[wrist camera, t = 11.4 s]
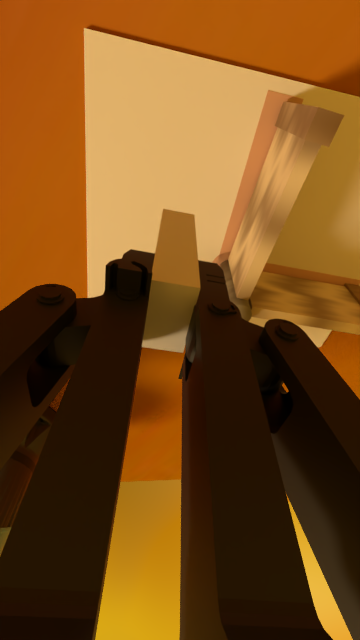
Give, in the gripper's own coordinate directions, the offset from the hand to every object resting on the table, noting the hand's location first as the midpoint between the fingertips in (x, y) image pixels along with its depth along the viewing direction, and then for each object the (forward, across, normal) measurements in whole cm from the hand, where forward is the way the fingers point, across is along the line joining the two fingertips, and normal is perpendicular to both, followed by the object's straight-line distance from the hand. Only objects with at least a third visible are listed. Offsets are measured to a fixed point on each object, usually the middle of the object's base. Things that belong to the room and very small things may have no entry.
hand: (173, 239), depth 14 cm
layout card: (+18, +8, -6) cm, 21 cm away
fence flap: (+17, +8, -1) cm, 19 cm away
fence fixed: (+18, +16, -10) cm, 26 cm away
